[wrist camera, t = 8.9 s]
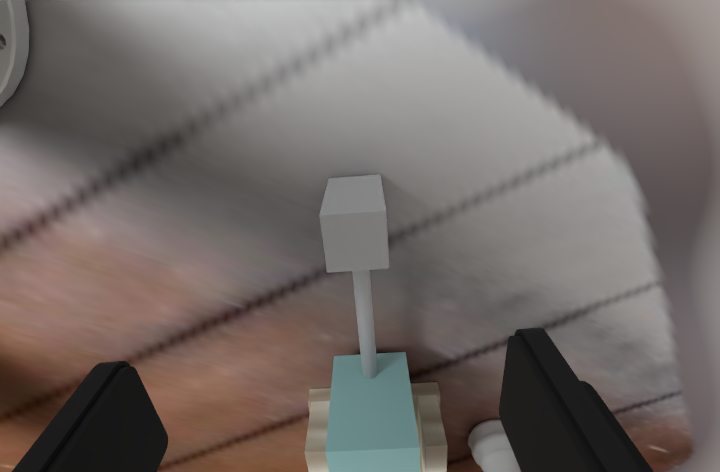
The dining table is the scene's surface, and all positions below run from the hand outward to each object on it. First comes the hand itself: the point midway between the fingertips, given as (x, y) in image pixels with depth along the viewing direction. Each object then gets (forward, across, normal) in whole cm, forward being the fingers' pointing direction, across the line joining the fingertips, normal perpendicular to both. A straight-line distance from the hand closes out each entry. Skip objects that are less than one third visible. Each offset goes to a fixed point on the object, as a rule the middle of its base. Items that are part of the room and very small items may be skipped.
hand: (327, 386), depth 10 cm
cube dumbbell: (+14, -1, +8) cm, 16 cm away
